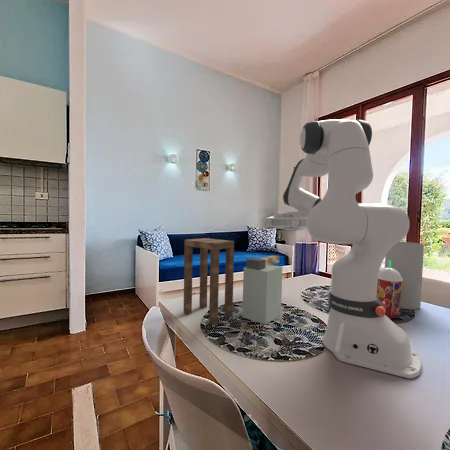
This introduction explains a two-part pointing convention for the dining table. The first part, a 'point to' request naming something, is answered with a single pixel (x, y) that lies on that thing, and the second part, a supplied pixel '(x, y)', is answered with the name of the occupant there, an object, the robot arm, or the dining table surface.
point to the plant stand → (214, 275)
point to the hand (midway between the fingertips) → (280, 222)
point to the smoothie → (390, 290)
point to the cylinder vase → (408, 271)
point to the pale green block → (262, 293)
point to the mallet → (261, 262)
